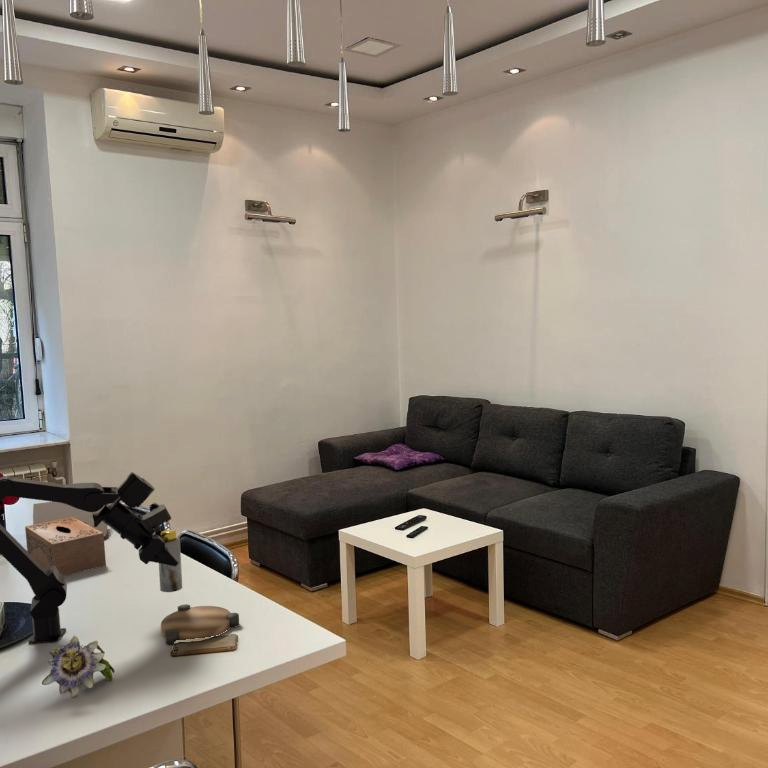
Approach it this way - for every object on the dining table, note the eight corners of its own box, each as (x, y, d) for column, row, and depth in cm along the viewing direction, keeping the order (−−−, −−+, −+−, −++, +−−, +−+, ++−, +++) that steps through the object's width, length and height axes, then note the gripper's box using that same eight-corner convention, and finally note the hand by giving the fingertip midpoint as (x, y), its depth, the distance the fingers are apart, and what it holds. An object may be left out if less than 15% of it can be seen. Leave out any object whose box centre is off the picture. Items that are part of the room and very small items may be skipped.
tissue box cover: (27, 558, 239) (25, 526, 238) (75, 547, 248) (72, 516, 247) (55, 578, 219) (52, 544, 218) (106, 565, 229) (103, 532, 227)
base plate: (234, 640, 173) (234, 630, 173) (153, 646, 172) (153, 635, 172) (243, 610, 191) (242, 600, 190) (169, 614, 189) (169, 605, 189)
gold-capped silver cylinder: (177, 592, 185) (174, 535, 184) (156, 591, 186) (153, 535, 185) (185, 584, 191) (182, 529, 189) (165, 584, 191) (162, 528, 190)
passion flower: (77, 721, 152) (34, 687, 146) (74, 687, 161) (34, 654, 156) (125, 682, 154) (85, 647, 148) (119, 651, 163) (81, 616, 158)
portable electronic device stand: (35, 566, 248) (32, 545, 243) (35, 519, 266) (32, 498, 261) (111, 555, 256) (109, 534, 252) (106, 510, 274) (104, 490, 270)
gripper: (152, 505, 176) (204, 545, 181) (145, 487, 193) (193, 525, 198) (117, 543, 174) (171, 583, 179) (114, 522, 191) (163, 559, 196)
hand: (175, 561), depth 188 cm, fingers closed on gold-capped silver cylinder, 5 cm apart
